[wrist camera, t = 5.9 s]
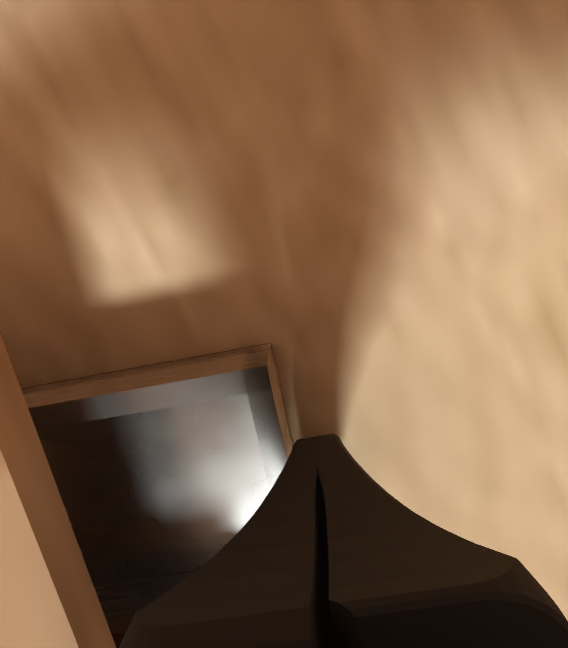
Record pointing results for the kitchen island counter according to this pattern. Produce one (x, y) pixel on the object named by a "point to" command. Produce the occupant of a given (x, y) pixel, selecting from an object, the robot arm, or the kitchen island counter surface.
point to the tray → (161, 465)
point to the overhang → (39, 543)
